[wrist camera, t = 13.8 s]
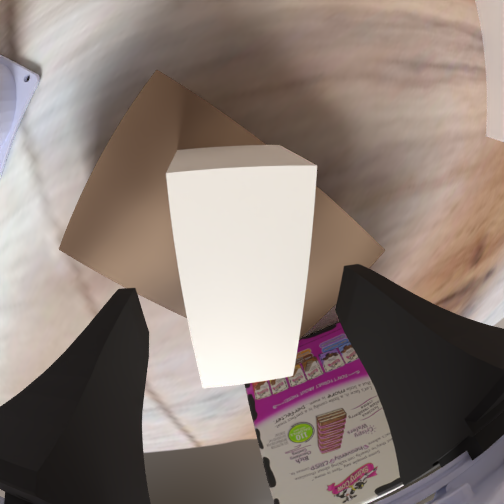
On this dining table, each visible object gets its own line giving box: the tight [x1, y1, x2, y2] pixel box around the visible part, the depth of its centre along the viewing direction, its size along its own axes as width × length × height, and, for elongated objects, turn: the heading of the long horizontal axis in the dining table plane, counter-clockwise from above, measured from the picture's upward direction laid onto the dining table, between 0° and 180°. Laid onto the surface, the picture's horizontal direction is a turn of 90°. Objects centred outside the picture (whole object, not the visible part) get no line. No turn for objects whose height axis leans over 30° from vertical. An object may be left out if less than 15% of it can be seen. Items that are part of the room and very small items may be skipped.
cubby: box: [59, 70, 385, 339], centre depth 15 cm, size 14×9×6 cm, turn 51°
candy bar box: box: [245, 322, 403, 504], centre depth 20 cm, size 11×5×16 cm, turn 110°
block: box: [166, 145, 317, 388], centre depth 11 cm, size 4×9×4 cm, turn 0°
